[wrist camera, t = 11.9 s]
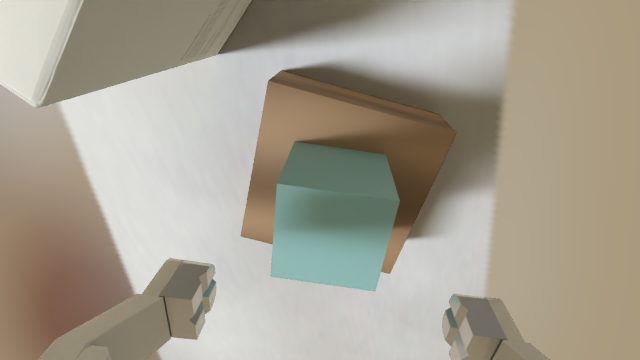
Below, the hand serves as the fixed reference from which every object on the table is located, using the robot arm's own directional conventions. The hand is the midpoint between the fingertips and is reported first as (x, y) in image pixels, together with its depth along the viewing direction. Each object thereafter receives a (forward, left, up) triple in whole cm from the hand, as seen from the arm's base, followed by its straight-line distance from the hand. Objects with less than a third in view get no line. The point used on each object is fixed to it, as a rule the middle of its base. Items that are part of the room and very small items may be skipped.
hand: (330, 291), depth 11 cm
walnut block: (+1, 0, -12) cm, 12 cm away
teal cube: (0, 0, -8) cm, 8 cm away
